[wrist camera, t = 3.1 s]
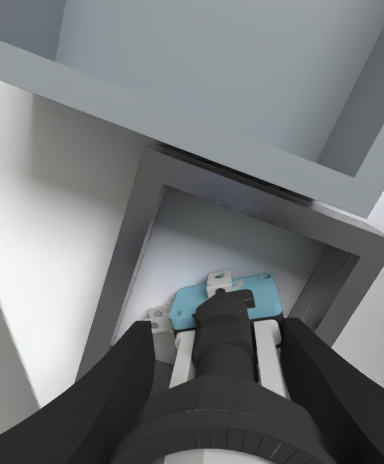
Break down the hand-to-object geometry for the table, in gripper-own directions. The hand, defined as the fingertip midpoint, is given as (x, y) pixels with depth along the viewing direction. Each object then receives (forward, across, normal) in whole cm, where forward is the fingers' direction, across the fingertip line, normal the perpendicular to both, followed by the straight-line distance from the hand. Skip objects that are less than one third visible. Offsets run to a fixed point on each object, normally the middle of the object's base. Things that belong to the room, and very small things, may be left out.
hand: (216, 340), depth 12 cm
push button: (+3, 0, 0) cm, 3 cm away
